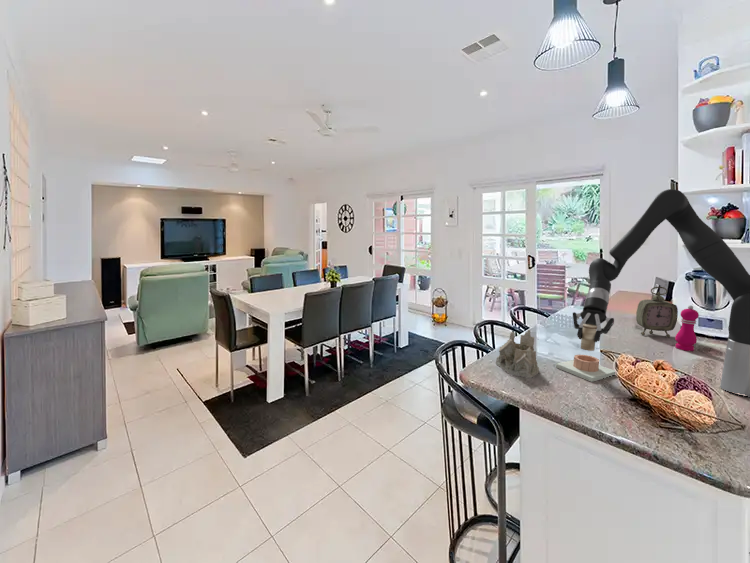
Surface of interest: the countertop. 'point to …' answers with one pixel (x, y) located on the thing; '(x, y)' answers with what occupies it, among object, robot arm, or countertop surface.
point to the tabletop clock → (656, 314)
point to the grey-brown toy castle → (519, 356)
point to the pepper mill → (687, 330)
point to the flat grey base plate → (586, 368)
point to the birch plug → (588, 337)
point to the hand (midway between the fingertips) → (587, 339)
